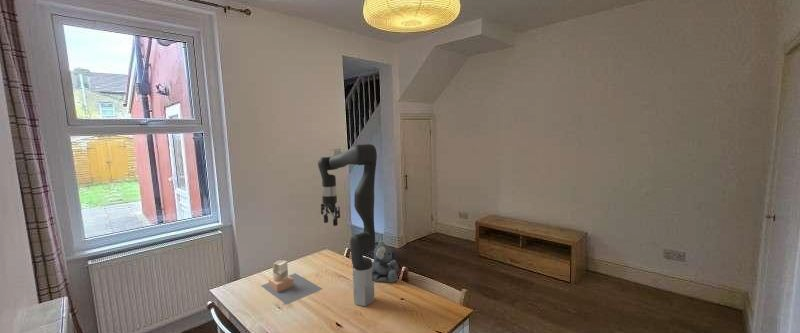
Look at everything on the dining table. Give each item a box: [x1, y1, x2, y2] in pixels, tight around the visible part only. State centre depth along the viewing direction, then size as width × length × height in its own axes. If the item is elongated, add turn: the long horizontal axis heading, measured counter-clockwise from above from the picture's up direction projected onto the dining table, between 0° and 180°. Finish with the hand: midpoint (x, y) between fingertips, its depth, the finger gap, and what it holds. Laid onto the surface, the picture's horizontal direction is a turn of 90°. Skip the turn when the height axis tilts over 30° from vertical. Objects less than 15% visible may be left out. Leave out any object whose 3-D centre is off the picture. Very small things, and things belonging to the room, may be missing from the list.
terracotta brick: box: [268, 275, 294, 292], centre depth 167 cm, size 9×9×4 cm
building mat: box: [260, 273, 323, 305], centre depth 166 cm, size 28×20×1 cm
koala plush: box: [372, 240, 399, 283], centre depth 177 cm, size 17×18×20 cm
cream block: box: [272, 259, 289, 282], centre depth 166 cm, size 5×5×9 cm
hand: (330, 224), depth 169 cm, fingers open, 8 cm apart
